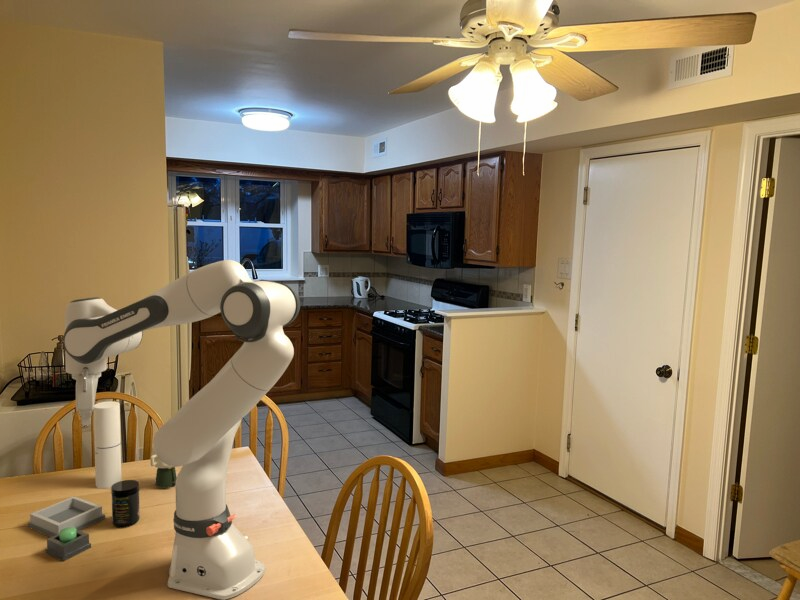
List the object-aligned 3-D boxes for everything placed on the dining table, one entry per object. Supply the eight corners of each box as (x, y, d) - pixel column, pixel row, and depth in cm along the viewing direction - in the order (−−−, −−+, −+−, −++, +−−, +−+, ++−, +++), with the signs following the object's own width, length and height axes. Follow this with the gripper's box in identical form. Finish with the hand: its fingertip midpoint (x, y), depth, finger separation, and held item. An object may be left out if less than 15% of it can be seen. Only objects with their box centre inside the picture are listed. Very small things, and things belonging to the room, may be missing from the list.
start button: (79, 539, 140) (79, 529, 140) (65, 546, 137) (65, 536, 136) (70, 535, 142) (70, 525, 141) (56, 541, 138) (55, 532, 138)
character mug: (159, 494, 170) (159, 453, 168) (143, 489, 173) (142, 448, 172) (188, 481, 180) (188, 441, 178) (172, 476, 183) (171, 437, 181)
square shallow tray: (105, 518, 155) (104, 506, 155) (58, 540, 144) (57, 527, 143) (75, 506, 161) (74, 494, 161) (27, 526, 150) (26, 514, 149)
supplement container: (140, 525, 152) (140, 487, 151) (112, 530, 149) (111, 492, 148) (139, 514, 158) (138, 478, 157) (111, 519, 155) (110, 482, 154)
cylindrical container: (110, 489, 172) (108, 409, 169) (90, 486, 174) (87, 407, 171) (126, 479, 179) (124, 402, 176) (106, 477, 181) (104, 400, 178)
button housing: (91, 547, 141) (90, 534, 141) (63, 561, 135) (62, 547, 134) (73, 539, 144) (72, 526, 144) (45, 553, 138) (44, 539, 138)
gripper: (99, 372, 131) (100, 430, 132) (102, 354, 149) (102, 405, 151) (68, 374, 128) (69, 433, 130) (74, 355, 146) (75, 407, 148)
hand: (87, 418), depth 140 cm, fingers open, 8 cm apart
